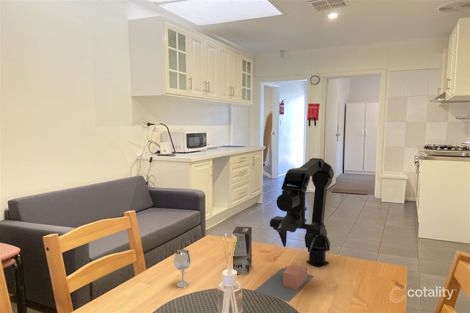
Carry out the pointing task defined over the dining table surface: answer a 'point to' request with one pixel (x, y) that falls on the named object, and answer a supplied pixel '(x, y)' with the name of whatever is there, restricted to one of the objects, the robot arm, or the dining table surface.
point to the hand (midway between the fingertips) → (296, 249)
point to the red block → (294, 276)
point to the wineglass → (182, 264)
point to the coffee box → (243, 250)
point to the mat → (279, 287)
